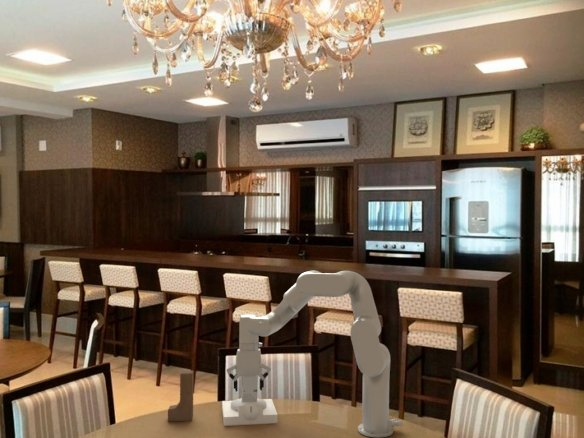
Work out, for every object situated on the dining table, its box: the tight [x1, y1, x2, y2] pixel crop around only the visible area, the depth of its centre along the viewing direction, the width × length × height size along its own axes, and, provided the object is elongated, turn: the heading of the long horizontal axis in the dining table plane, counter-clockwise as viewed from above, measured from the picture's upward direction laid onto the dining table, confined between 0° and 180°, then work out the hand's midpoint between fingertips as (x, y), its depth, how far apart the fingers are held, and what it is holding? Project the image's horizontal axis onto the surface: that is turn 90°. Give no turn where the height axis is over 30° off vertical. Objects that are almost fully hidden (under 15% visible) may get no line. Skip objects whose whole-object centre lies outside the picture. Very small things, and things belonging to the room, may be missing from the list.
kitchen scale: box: [221, 397, 279, 427], centre depth 210 cm, size 20×18×8 cm
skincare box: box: [241, 375, 259, 402], centre depth 212 cm, size 6×4×12 cm
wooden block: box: [167, 370, 195, 422], centre depth 206 cm, size 9×4×18 cm, turn 93°
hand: (248, 390), depth 212 cm, fingers open, 9 cm apart
